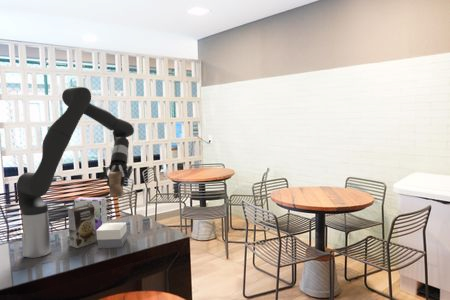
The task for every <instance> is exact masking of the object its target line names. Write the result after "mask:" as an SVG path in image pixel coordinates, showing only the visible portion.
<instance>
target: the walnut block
mask: <svg viewBox="0 0 450 300" xmlns="http://www.w3.org/2000/svg"><path fill="white" fill-rule="evenodd" d="M108 175H109V186H108V187H109V197H110V198H122V196H124V185H123V186H121V177H122V172H120V171H115V172H110V171H109V173H108Z"/></svg>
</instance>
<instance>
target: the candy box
mask: <svg viewBox="0 0 450 300" xmlns="http://www.w3.org/2000/svg"><path fill="white" fill-rule="evenodd" d="M85 205H88V206H93V207H94V213H95V231H96V230H97V229H98V228H99V227H100V226H101V225H102V224H103V223H108V213H107V198H106V197H87V196H85V197H83V196H79V197H77V198H75V199H73V208H76V207H80V206H85Z"/></svg>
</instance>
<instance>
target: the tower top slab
mask: <svg viewBox="0 0 450 300" xmlns="http://www.w3.org/2000/svg"><path fill="white" fill-rule="evenodd" d="M127 230H128V229H127V222H107V223H103V224H102V225H101V226H100V227H99V228H98V229H97V230H96V241H97V240H106V239H121V238H122V237H123V235H124V234H125V233H126V234H127Z"/></svg>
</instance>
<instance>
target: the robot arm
mask: <svg viewBox="0 0 450 300" xmlns="http://www.w3.org/2000/svg"><path fill="white" fill-rule="evenodd" d="M61 94H62V95H61V99H62V102H63V104H65V106H67V108H66V110H65V111H64V112H63V114H62V115H60V116H59V117H58V118H57V119H56V121H54V122H53V123H52V125H50V127H49V129H48V130H47V133H46V134H45V136H44V139H43V141H42V147H41V149H42V150H41V151H42V156H41V161H40V163H39V165H38V167H37V169H36V171H35V172H24V173H22V174H21V175H20V176H19V177H18V178H17V182H16V193H17V194H16V195H17V201H18V205H19V208H20V210H21V215H22V216H21V217H22V229H23V232H21V244H22V257H23V258H24V257H26V258H30V259H33V258H42V257H44V256H46V255H49V254H51V252H52V245H51V233H50V221H49V220H50V219H49V206H48V204H47V202H46V201H44V199H42V197H43V196H45V194H47V193H48V192H49V190H50V188H51V185H52V182H53V180H54V177H55V175H56V170H57V169H58V166H59V164H60V161H61V159H62V157H63V155H64V153H65V151H66V149H67V148H68V146H69V143H70V141H71V138H72V137H73V135H74V133H75V130H76V128H77V127H78V124H79V123H80V121H81V118H82V117H83V115H85V116H87V117H89V118H91V119H92V120H93V121H96V122H97V123H99V124H100V125H101V126H103V127H104V128H106V129H107V130H109V131H112V137H113V141H114V143H113V149H112V153H111V157H110V158H111V159H110V164H109V165H108V166H102V172H103V177H104V179H105V180H106V184H107V187H109V174H108V172H109V173H110V172H115V171H120V172H122V177H121V186H123V187H124V185H125V184H126V179H127V180H129V179H130V178H131V175H132V172H133V170H134V169H133V166H132V165H129V166H128V158H129V145H130V142H129V140H128V139H127V138H128V137H130V136H133V134H134V133H135V128H134V126H133V125H132V123H130V122H128V121H126V120H123V119H121V118H118V117H116V116H115V115H113V114H112V113H111V112H109V111H108V110H105V109H103V108H101V107H99V106H97V105H94V104H92V103H91V101H92V93H91V91H90V89H88V88H87V86H86V87H85V86H73V87H68V88H66V89H64V90H63V92H62V93H61ZM126 171H127V172H126ZM124 172H126V173H124Z"/></svg>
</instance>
